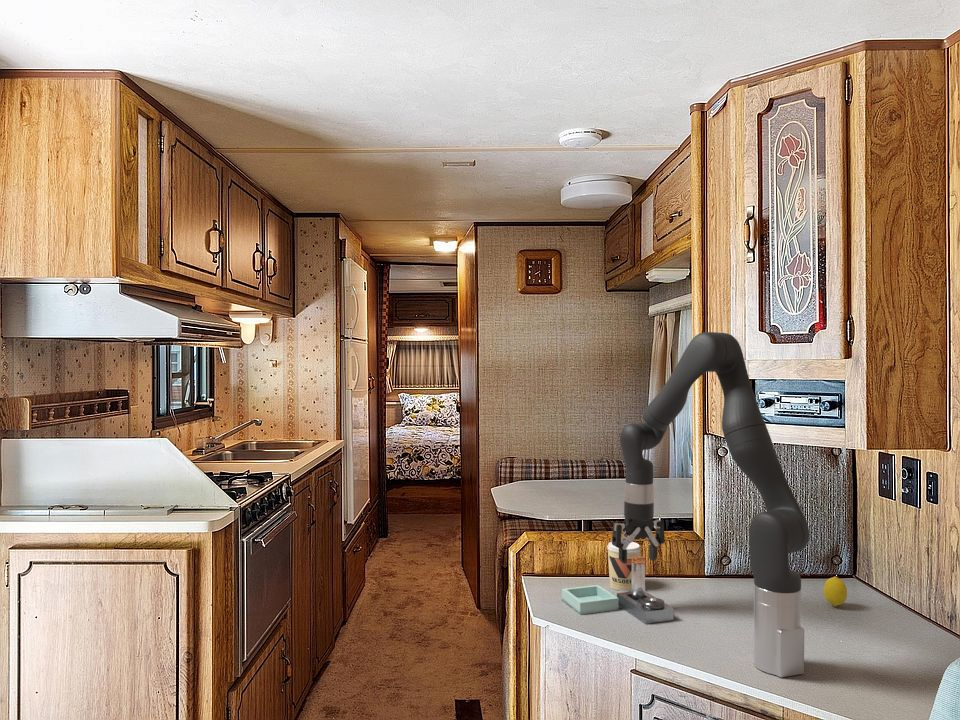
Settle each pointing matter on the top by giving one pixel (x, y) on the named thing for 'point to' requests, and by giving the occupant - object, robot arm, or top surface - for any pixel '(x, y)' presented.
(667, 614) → the block
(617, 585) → the coffee cup
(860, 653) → the top surface
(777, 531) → the robot arm
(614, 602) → the tray
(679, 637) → the top surface
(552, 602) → the top surface
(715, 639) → the top surface
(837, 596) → the lemon
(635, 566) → the pin
